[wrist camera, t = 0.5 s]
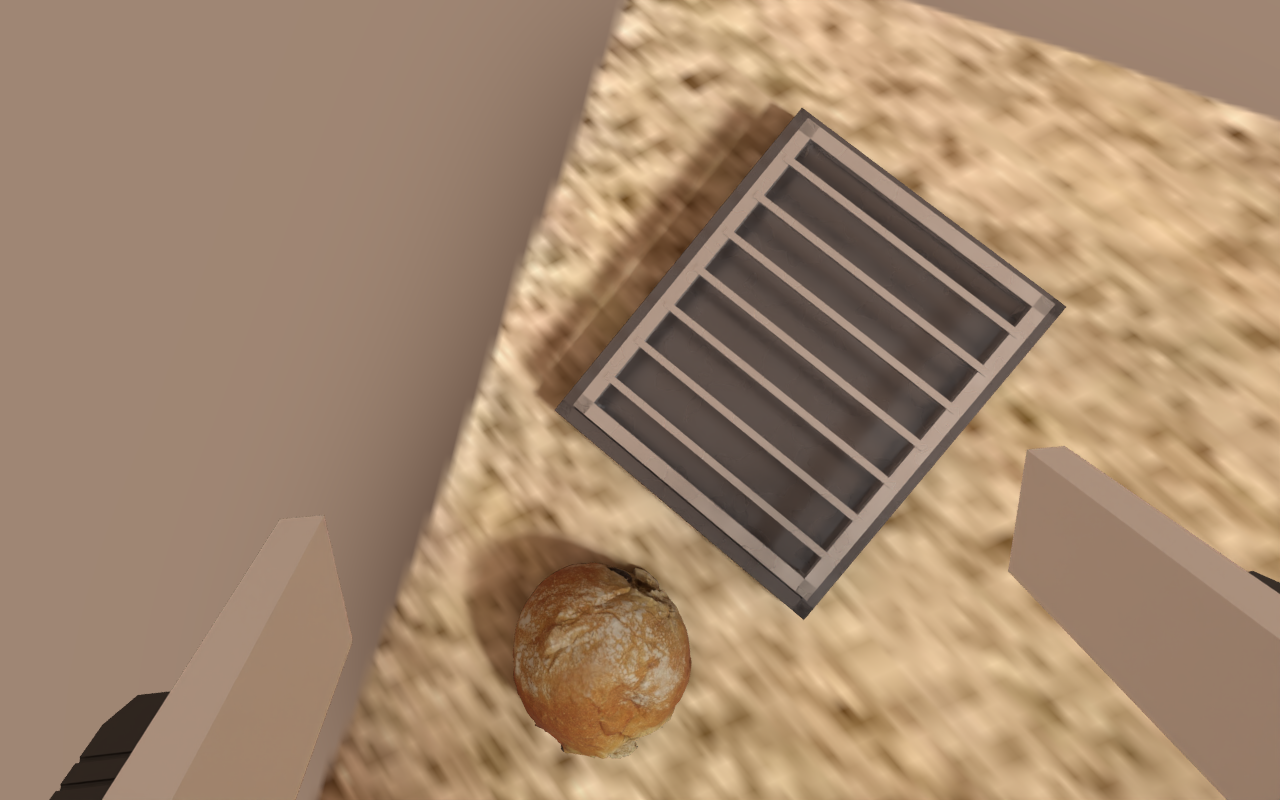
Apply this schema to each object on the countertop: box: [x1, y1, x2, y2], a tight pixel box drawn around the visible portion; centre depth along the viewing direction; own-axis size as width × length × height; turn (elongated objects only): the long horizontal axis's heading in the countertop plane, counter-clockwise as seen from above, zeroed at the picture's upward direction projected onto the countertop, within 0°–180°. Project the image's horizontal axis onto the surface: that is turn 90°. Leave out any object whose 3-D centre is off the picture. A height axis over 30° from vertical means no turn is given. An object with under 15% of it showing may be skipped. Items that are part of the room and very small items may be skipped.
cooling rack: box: [555, 108, 1066, 620], centre depth 43 cm, size 18×22×4 cm
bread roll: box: [513, 563, 691, 759], centre depth 43 cm, size 10×10×8 cm
